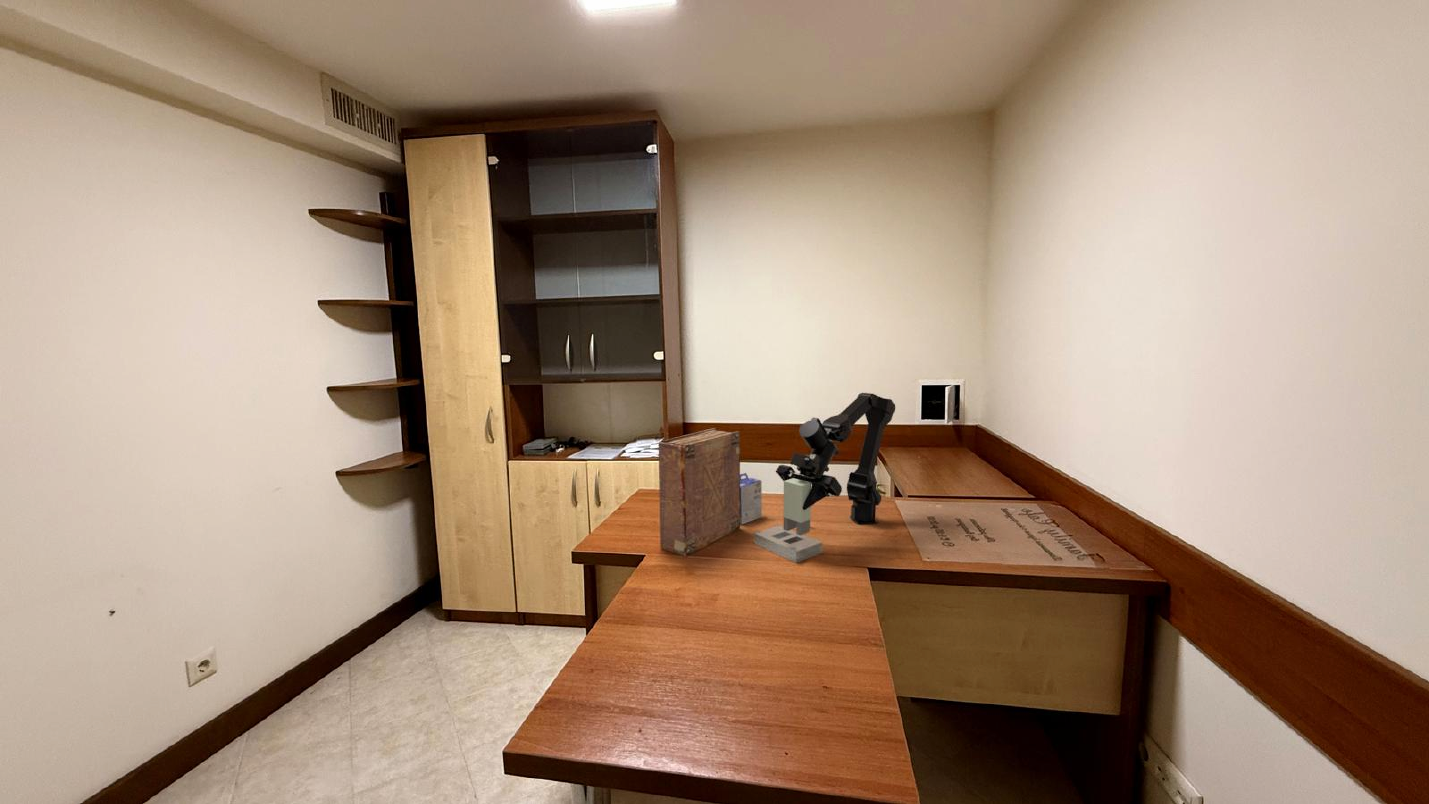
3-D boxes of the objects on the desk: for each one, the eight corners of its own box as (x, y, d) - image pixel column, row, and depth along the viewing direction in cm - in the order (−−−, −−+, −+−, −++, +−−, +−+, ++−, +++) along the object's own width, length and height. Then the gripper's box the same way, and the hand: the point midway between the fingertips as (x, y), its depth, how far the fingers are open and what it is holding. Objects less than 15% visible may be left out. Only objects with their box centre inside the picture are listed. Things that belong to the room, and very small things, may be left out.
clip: (792, 525, 146) (793, 478, 144) (810, 531, 142) (811, 482, 140) (783, 529, 143) (783, 481, 141) (801, 535, 139) (801, 485, 137)
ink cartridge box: (749, 513, 173) (750, 470, 171) (762, 517, 169) (763, 473, 167) (728, 520, 166) (728, 476, 164) (741, 525, 162) (741, 479, 160)
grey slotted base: (779, 534, 155) (779, 525, 154) (821, 552, 142) (822, 542, 142) (754, 543, 149) (754, 533, 148) (796, 563, 136) (796, 551, 136)
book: (715, 522, 165) (715, 427, 161) (740, 528, 160) (740, 431, 156) (660, 549, 145) (658, 441, 141) (685, 557, 140) (684, 446, 136)
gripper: (780, 436, 149) (753, 482, 143) (836, 447, 135) (809, 498, 129) (797, 459, 155) (772, 504, 149) (853, 471, 142) (827, 521, 136)
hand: (793, 506), depth 141 cm, fingers closed on clip, 6 cm apart
